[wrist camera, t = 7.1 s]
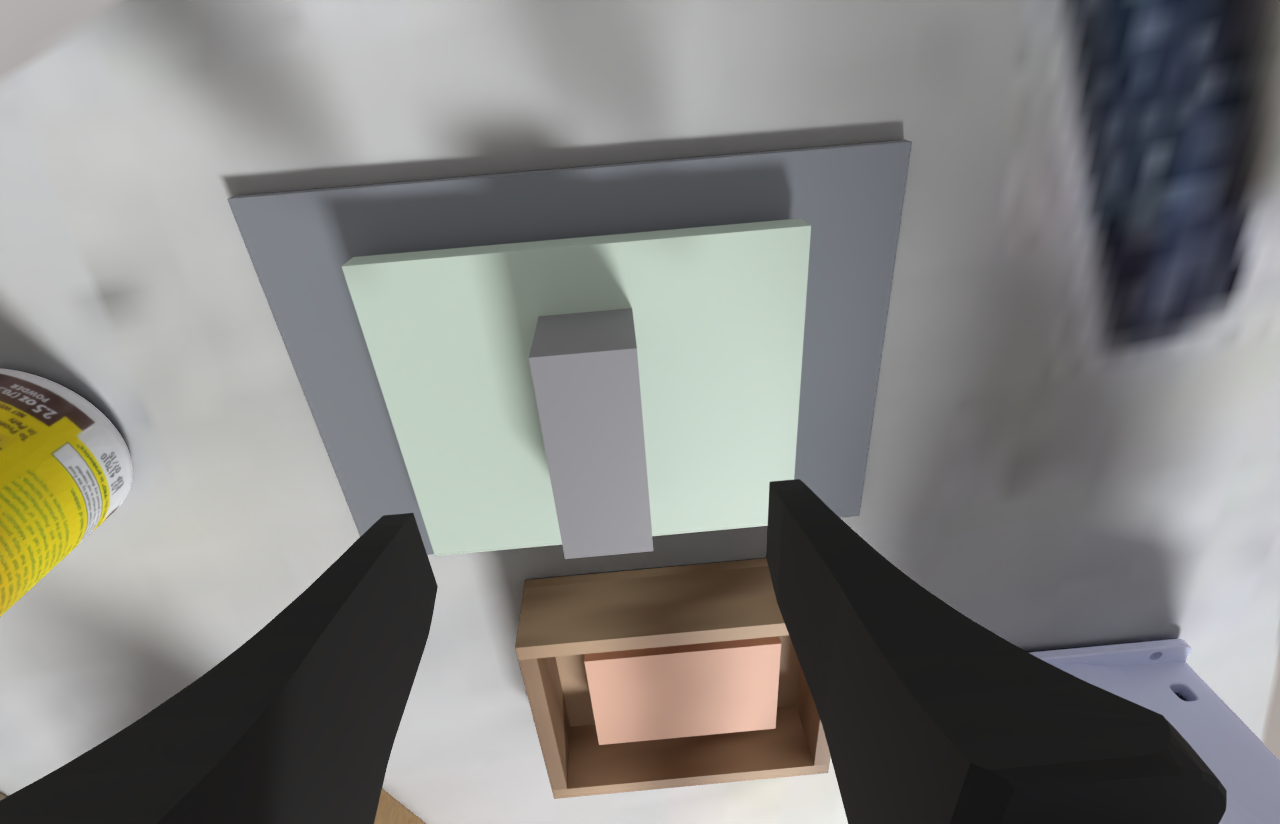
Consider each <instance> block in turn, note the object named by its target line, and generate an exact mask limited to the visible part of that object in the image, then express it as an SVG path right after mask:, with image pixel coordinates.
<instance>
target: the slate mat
mask: <svg viewBox="0 0 1280 824" xmlns="http://www.w3.org/2000/svg"><path fill="white" fill-rule="evenodd" d="M911 143H912V142H911V141H907V140H897V141H885V142H873V143H861V144H849V145H837V146H825V147H813V148H801V149H789V150H777V151H765V152H753V153H741V154H729V155H717V156H705V157H693V158H682V159H670V160H658V161H646V162H634V163H622V164H610V165H598V166H586V167H574V168H562V169H550V170H538V171H526V172H514V173H502V174H490V175H478V176H466V177H455V178H443V179H431V180H419V181H407V182H395V183H383V184H371V185H359V186H347V187H335V188H323V189H311V190H299V191H287V192H275V193H263V194H251V195H239V196H234V197H231V198H229V199H228V202H229V205H230V207H231V210H232V212H233V215H234V217H235V220H236V222H237V225H238V227H239V230H240V232H241V235H242V237H243V240H244V243H245V245H246V248H247V250H248V253H249V255H250V258H251V260H252V263H253V265H254V268H255V270H256V273H257V276H258V278H259V281H260V283H261V286H262V288H263V291H264V293H265V296H266V298H267V301H268V303H269V306H270V308H271V311H272V314H273V316H274V319H275V321H276V324H277V326H278V329H279V331H280V334H281V336H282V339H283V341H284V344H285V347H286V349H287V352H288V354H289V357H290V359H291V362H292V364H293V367H294V369H295V372H296V374H297V377H298V379H299V382H300V385H301V387H302V390H303V392H304V395H305V397H306V400H307V402H308V405H309V407H310V410H311V412H312V415H313V418H314V420H315V423H316V425H317V428H318V430H319V433H320V435H321V438H322V440H323V443H324V445H325V448H326V450H327V453H328V456H329V458H330V461H331V463H332V466H333V468H334V471H335V473H336V476H337V478H338V481H339V483H340V486H341V489H342V491H343V494H344V496H345V499H346V501H347V504H348V506H349V509H350V511H351V514H352V516H353V519H354V521H355V524H356V527H357V529H358V532H359V534H360V537H361V536H362V535H363V534H364V533H365V532H366V531H367V530H368V529H369V528H370V527H371V526H372V525H373V524H374V523H375V522H377V521H378V520H379V519H380V518H381V517H382V516H383V515H394V514H405V513H414V516H415V519H416V522H417V526H418V529H419V532H420V535H421V538H422V541H423V544H424V547H425V550H426V553H427V555H428V554H434V551H433V548H432V545H431V542H430V539H429V536H428V533H427V530H426V527H425V523H424V520H423V517H422V514H421V511H420V508H419V505H418V502H417V499H416V496H415V492H414V489H413V486H412V483H411V480H410V477H409V474H408V471H407V468H406V465H405V461H404V458H403V455H402V452H401V449H400V446H399V443H398V440H397V437H396V434H395V430H394V427H393V424H392V421H391V418H390V415H389V412H388V409H387V406H386V403H385V400H384V396H383V393H382V390H381V387H380V384H379V381H378V378H377V375H376V372H375V369H374V365H373V362H372V359H371V356H370V353H369V350H368V347H367V344H366V341H365V338H364V334H363V331H362V328H361V325H360V322H359V319H358V316H357V313H356V310H355V307H354V303H353V300H352V297H351V294H350V291H349V288H348V285H347V282H346V279H345V276H344V272H343V269H342V266H343V265H344V264H345V263H346V262H348V261H349V260H350V259H351V258H353V257H359V256H371V255H383V254H394V253H406V252H417V251H429V250H440V249H452V248H463V247H475V246H487V245H498V244H510V243H521V242H533V241H544V240H556V239H568V238H579V237H591V236H602V235H614V234H625V233H637V232H648V231H660V230H672V229H683V228H695V227H706V226H718V225H729V224H741V223H753V222H764V221H776V220H787V219H799V218H802V219H803V220H805V221H806V222H807V223H808V224H810V225H811V236H810V251H809V265H808V280H807V295H806V310H805V325H804V340H803V355H802V370H801V384H800V399H799V414H798V429H797V444H796V459H795V474H794V479H800V480H801V481H802V482H804V483H805V484H806V485H807V486H808V487H809V488H810V489H811V490H812V491H813V492H814V493H815V494H816V495H817V496H818V497H819V498H820V499H821V500H822V501H823V502H824V503H825V504H826V505H827V506H828V507H829V508H830V509H831V510H832V511H833V512H834V513H835V514H836V515H837V516H838V517H849V516H859V514H860V507H861V499H862V492H863V485H864V478H865V471H866V464H867V457H868V450H869V442H870V435H871V428H872V421H873V414H874V407H875V400H876V393H877V386H878V378H879V371H880V364H881V357H882V350H883V343H884V336H885V329H886V321H887V314H888V307H889V300H890V293H891V286H892V279H893V272H894V264H895V257H896V250H897V243H898V236H899V229H900V222H901V215H902V208H903V200H904V193H905V186H906V179H907V172H908V165H909V158H910V151H911Z"/></svg>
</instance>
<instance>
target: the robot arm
mask: <svg viewBox="0 0 1280 824" xmlns="http://www.w3.org/2000/svg"><path fill="white" fill-rule="evenodd" d="M766 558H767V563H768V567H769V571H770V576H771V580H772V584H773V588H774V592H775V596H776V600H777V603H778V606H779V609H780V612H781V614H782V617H783V620H784V623H785V625H786V628H787V631H788V633H789V636H790V639H791V641H792V644H793V647H794V649H795V652H796V655H797V657H798V660H799V662H800V665H801V668H802V670H803V673H804V676H805V678H806V681H807V684H808V686H809V689H810V692H811V694H812V697H813V699H814V702H815V705H816V708H817V711H818V714H819V717H820V720H821V723H822V726H823V730H824V733H825V737H826V741H827V744H828V748H829V752H830V755H831V759H832V763H833V766H834V770H835V774H836V777H837V781H838V785H839V789H840V793H841V797H842V801H843V805H844V808H845V812H846V816H847V820H848V824H1280V760H1279V759H1278V758H1277V757H1276V756H1275V755H1274V754H1273V753H1272V752H1271V751H1270V750H1269V749H1268V747H1266V745H1265V744H1264V743H1263V742H1262V741H1261V740H1260V739H1259V738H1258V737H1257V736H1256V735H1255V734H1254V733H1253V732H1252V731H1251V730H1250V729H1249V728H1248V727H1247V726H1246V725H1245V724H1244V722H1243V721H1242V720H1241V719H1240V718H1239V717H1238V716H1237V715H1236V714H1235V713H1234V712H1233V711H1232V710H1231V709H1230V708H1229V707H1228V706H1227V705H1226V704H1225V703H1224V702H1223V701H1222V700H1221V699H1220V698H1219V697H1218V695H1217V694H1216V693H1215V692H1214V691H1213V690H1212V689H1211V688H1210V687H1209V686H1208V685H1207V684H1206V683H1205V682H1204V681H1203V680H1202V679H1201V678H1200V677H1199V676H1198V675H1197V674H1196V673H1195V672H1194V671H1193V669H1192V668H1191V667H1190V666H1189V665H1188V664H1187V663H1186V662H1185V661H1186V659H1187V657H1188V656H1189V654H1190V651H1191V647H1190V646H1189V645H1188V644H1187V643H1186V642H1185V641H1184V640H1182V639H1169V640H1158V641H1147V642H1137V643H1126V644H1115V645H1104V646H1094V647H1083V648H1072V649H1061V650H1050V651H1040V652H1029V653H1028V652H1026V651H1024V650H1022V649H1021V648H1019V647H1017V646H1015V645H1013V644H1011V643H1010V642H1008V641H1006V640H1004V639H1003V638H1001V637H999V636H998V635H996V634H994V633H992V632H991V631H989V630H987V629H986V628H984V627H982V626H981V625H979V624H977V623H975V622H974V621H972V620H971V619H969V618H967V617H966V616H964V615H963V614H961V613H959V612H958V611H956V610H955V609H953V608H952V607H950V606H949V605H947V604H946V603H944V602H943V601H942V600H940V599H939V598H937V597H936V596H934V595H933V594H931V593H930V592H928V591H927V590H925V589H924V588H923V587H921V586H920V585H919V584H917V583H916V582H914V581H913V580H912V579H910V578H909V577H908V576H906V575H905V574H904V573H903V572H901V571H900V570H899V569H898V568H896V567H895V566H894V565H893V564H891V563H890V562H889V561H888V560H886V559H885V558H884V557H883V556H882V555H881V554H879V553H878V552H877V551H876V550H875V549H873V548H872V547H871V546H870V545H869V544H868V543H867V542H866V541H865V540H863V539H862V538H861V537H860V536H859V535H858V534H857V533H856V532H854V531H853V530H852V529H851V528H850V527H849V526H848V525H847V524H846V523H845V522H844V521H843V520H841V519H840V518H839V517H838V516H837V515H836V514H835V513H834V512H833V511H832V510H831V509H830V508H829V507H828V506H827V505H826V504H825V503H824V502H823V501H822V500H821V499H820V498H819V497H818V496H817V495H816V494H815V493H814V492H813V491H812V490H811V489H810V488H809V487H808V486H807V485H806V484H805V483H804V482H802V481H801V480H800V479H794V480H783V481H772V482H770V483H769V506H768V529H767V553H766ZM436 592H437V584H436V581H435V578H434V574H433V571H432V568H431V565H430V562H429V559H428V556H427V553H426V550H425V547H424V544H423V541H422V538H421V535H420V532H419V529H418V526H417V522H416V519H415V516H414V513H405V514H394V515H383V516H382V517H381V518H380V519H379V520H378V521H377V522H375V523H374V524H373V525H372V526H371V527H370V528H369V529H368V530H367V531H366V532H365V533H364V534H363V535H362V536H361V537H360V538H359V539H358V540H357V541H356V542H355V543H354V544H353V545H352V546H351V547H350V548H349V549H348V550H347V551H346V552H345V553H344V554H343V555H342V556H341V557H340V558H339V559H338V560H337V561H336V562H335V563H333V564H332V565H331V566H330V567H329V568H328V569H327V570H326V571H325V572H324V573H323V574H322V575H321V576H320V577H319V578H318V579H317V580H316V581H315V582H314V583H313V584H312V585H311V586H310V587H309V588H308V589H306V590H305V591H304V592H303V593H302V594H301V595H300V596H299V597H298V598H296V599H295V600H294V601H293V602H292V603H291V604H290V605H289V606H287V607H286V608H285V609H284V610H283V611H282V612H281V613H280V614H278V615H277V616H276V617H275V618H274V619H273V620H272V621H271V622H269V623H268V624H267V625H266V626H265V627H264V628H263V629H262V630H260V631H259V632H258V633H257V634H256V635H254V636H253V637H252V638H251V639H250V640H248V641H247V642H246V643H245V644H243V645H242V646H241V647H240V648H238V649H237V650H236V651H235V652H233V653H232V654H231V655H229V656H228V657H227V658H225V659H224V660H223V661H222V662H220V663H219V664H218V665H216V666H215V667H214V668H212V669H211V670H210V671H208V672H207V673H206V674H204V675H203V676H202V677H200V678H199V679H198V680H196V681H195V682H193V683H192V684H190V685H189V686H187V687H186V688H184V689H183V690H182V691H180V692H179V693H177V694H176V695H174V696H173V697H171V698H170V699H168V700H167V701H166V702H164V703H163V704H161V705H160V706H158V707H157V708H155V709H154V710H152V711H151V712H150V713H148V714H147V715H145V716H144V717H142V718H141V719H139V720H138V721H136V722H135V723H133V724H131V725H130V726H128V727H127V728H125V729H123V730H122V731H120V732H119V733H117V734H115V735H114V736H112V737H111V738H109V739H107V740H106V741H104V742H103V743H101V744H99V745H98V746H96V747H94V748H93V749H91V750H89V751H88V752H86V753H84V754H83V755H81V756H79V757H78V758H76V759H74V760H72V761H71V762H69V763H67V764H66V765H64V766H62V767H60V768H59V769H57V770H55V771H53V772H52V773H50V774H48V775H46V776H45V777H43V778H41V779H39V780H37V781H36V782H34V783H32V784H30V785H28V786H26V787H24V788H23V789H21V790H19V791H17V792H15V793H13V794H12V795H10V796H8V797H6V798H4V799H2V800H0V824H374V822H375V817H376V813H377V808H378V804H379V799H380V795H381V790H382V786H383V781H384V777H385V772H386V768H387V764H388V760H389V757H390V753H391V750H392V746H393V743H394V740H395V737H396V733H397V730H398V727H399V724H400V721H401V718H402V715H403V712H404V709H405V706H406V703H407V700H408V697H409V694H410V691H411V688H412V685H413V682H414V679H415V676H416V673H417V670H418V666H419V663H420V660H421V657H422V654H423V651H424V648H425V645H426V641H427V638H428V635H429V630H430V625H431V620H432V615H433V610H434V604H435V598H436Z"/></svg>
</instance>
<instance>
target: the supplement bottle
mask: <svg viewBox="0 0 1280 824" xmlns="http://www.w3.org/2000/svg"><path fill="white" fill-rule="evenodd" d="M132 479H133V465H132V460H131V456H130V453H129V450H128V448H127V445H126V443H125V442H124V440H123V438H122V436H121V435H120V433H119V432H118V430H117V429H116V428H115V427H114V425H113V424H112V423H111V422H110V420H109V419H108V418H107V417H106V416H105V415H104V414H103V413H102V412H101V411H99V410H98V409H97V408H96V407H95V406H94V405H92V404H91V403H90V402H89V401H87V400H86V399H84V398H83V397H81V396H80V395H78V394H77V393H75V392H73V391H71V390H70V389H68V388H66V387H64V386H62V385H60V384H57V383H55V382H53V381H51V380H48V379H46V378H43V377H40V376H37V375H33V374H29V373H26V372H22V371H17V370H10V369H2V368H0V616H1V615H3V614H4V613H5V612H6V611H7V610H8V609H9V608H10V607H11V606H12V605H13V604H15V603H16V602H17V601H18V600H19V599H20V598H21V597H22V596H23V595H24V594H25V593H26V592H28V591H29V590H30V589H31V588H32V587H33V586H34V585H35V584H37V583H38V582H39V581H40V580H41V579H42V578H43V577H44V576H45V575H46V574H47V573H48V572H49V571H50V570H51V569H52V568H54V567H55V566H56V565H57V564H58V563H59V562H60V561H61V560H62V559H63V558H65V557H66V556H67V555H68V554H69V553H70V552H71V551H72V550H73V549H74V548H75V547H76V546H77V545H79V544H80V543H81V542H82V541H83V540H84V539H85V538H86V537H87V536H89V535H90V534H91V533H92V532H93V531H94V530H95V529H96V528H97V527H98V526H99V525H100V524H101V523H102V522H103V521H105V520H106V519H107V518H108V517H109V516H110V515H111V514H112V513H113V512H114V511H115V510H116V509H117V508H118V507H119V506H120V505H121V504H122V502H123V501H124V500H125V498H126V496H127V495H128V493H129V490H130V488H131V484H132Z"/></svg>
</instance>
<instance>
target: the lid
mask: <svg viewBox="0 0 1280 824" xmlns="http://www.w3.org/2000/svg"><path fill="white" fill-rule="evenodd" d="M810 236H811V225H810V224H808V223H807V222H806V221H805V220H803V219H802V218H799V219H787V220H776V221H764V222H753V223H741V224H729V225H718V226H706V227H695V228H683V229H672V230H660V231H648V232H637V233H625V234H614V235H602V236H591V237H579V238H568V239H556V240H544V241H533V242H521V243H510V244H498V245H487V246H475V247H463V248H452V249H440V250H429V251H417V252H406V253H394V254H383V255H371V256H359V257H353V258H351V259H350V260H349V261H348V262H346V263H345V264H344V265H343V266H342V269H343V272H344V276H345V279H346V282H347V285H348V288H349V291H350V294H351V297H352V300H353V303H354V307H355V310H356V313H357V316H358V319H359V322H360V325H361V328H362V331H363V334H364V338H365V341H366V344H367V347H368V350H369V353H370V356H371V359H372V362H373V365H374V369H375V372H376V375H377V378H378V381H379V384H380V387H381V390H382V393H383V396H384V400H385V403H386V406H387V409H388V412H389V415H390V418H391V421H392V424H393V427H394V430H395V434H396V437H397V440H398V443H399V446H400V449H401V452H402V455H403V458H404V461H405V465H406V468H407V471H408V474H409V477H410V480H411V483H412V486H413V489H414V492H415V496H416V499H417V502H418V505H419V508H420V511H421V514H422V517H423V520H424V523H425V527H426V530H427V533H428V536H429V539H430V542H431V545H432V548H433V551H434V554H435V556H442V555H453V554H464V553H475V552H486V551H496V550H507V549H518V548H529V547H540V546H551V545H562V546H563V552H564V557H565V559H573V558H584V557H595V556H606V555H616V554H627V553H638V552H649V551H653V539H652V536H661V535H672V534H683V533H693V532H704V531H715V530H726V529H737V528H748V527H759V526H768V506H769V483H770V482H772V481H783V480H794V474H795V459H796V444H797V429H798V414H799V399H800V384H801V370H802V355H803V340H804V325H805V310H806V295H807V280H808V265H809V251H810Z"/></svg>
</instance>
